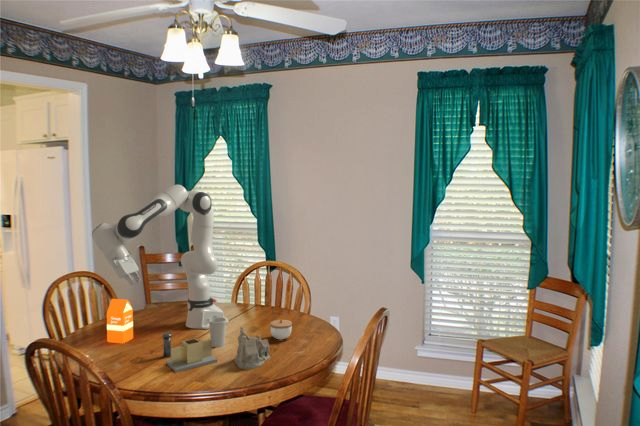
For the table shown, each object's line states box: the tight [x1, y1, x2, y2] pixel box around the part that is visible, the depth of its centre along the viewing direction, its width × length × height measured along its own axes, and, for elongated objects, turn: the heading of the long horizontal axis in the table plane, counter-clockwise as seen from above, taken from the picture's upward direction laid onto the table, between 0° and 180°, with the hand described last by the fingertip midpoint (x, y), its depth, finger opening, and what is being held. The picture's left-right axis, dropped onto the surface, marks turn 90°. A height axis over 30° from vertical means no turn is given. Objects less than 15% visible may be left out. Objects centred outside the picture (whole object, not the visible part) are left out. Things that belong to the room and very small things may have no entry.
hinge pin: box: [161, 332, 173, 359], centre depth 200 cm, size 4×4×10 cm
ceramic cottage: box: [234, 326, 271, 370], centre depth 197 cm, size 16×16×15 cm
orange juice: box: [106, 298, 134, 344], centre depth 219 cm, size 8×9×20 cm
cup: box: [209, 317, 227, 348], centre depth 215 cm, size 8×8×12 cm
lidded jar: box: [269, 319, 293, 340], centre depth 225 cm, size 11×11×9 cm
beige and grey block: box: [170, 337, 213, 365], centre depth 193 cm, size 18×7×8 cm, turn 128°
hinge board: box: [165, 355, 218, 373], centre depth 194 cm, size 18×11×1 cm, turn 128°
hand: (136, 282), depth 202 cm, fingers open, 8 cm apart
